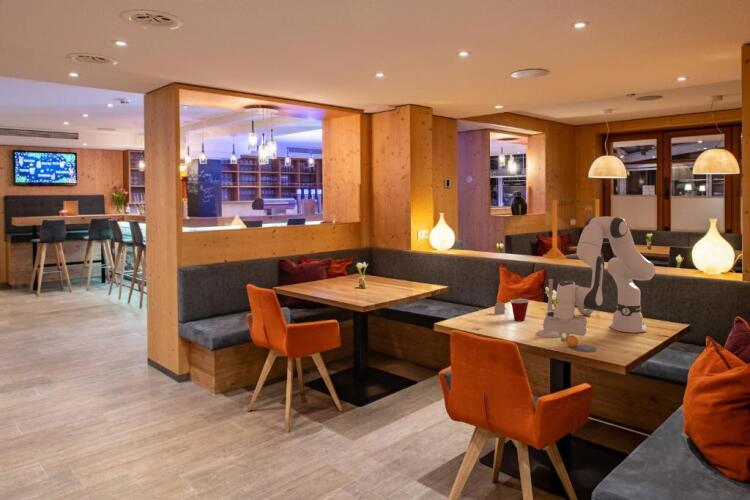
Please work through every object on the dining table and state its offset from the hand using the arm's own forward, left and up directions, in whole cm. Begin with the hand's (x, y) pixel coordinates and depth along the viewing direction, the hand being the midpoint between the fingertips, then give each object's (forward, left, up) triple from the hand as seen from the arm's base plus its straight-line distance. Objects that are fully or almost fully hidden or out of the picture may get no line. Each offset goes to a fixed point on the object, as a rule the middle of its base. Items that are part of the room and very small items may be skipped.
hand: (563, 341), depth 274 cm
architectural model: (-45, -54, -3) cm, 70 cm away
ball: (0, +4, +1) cm, 4 cm away
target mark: (0, +9, -2) cm, 10 cm away
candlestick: (-15, -13, -2) cm, 20 cm away
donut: (-71, -10, -2) cm, 72 cm away
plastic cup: (-36, -38, -2) cm, 52 cm away
